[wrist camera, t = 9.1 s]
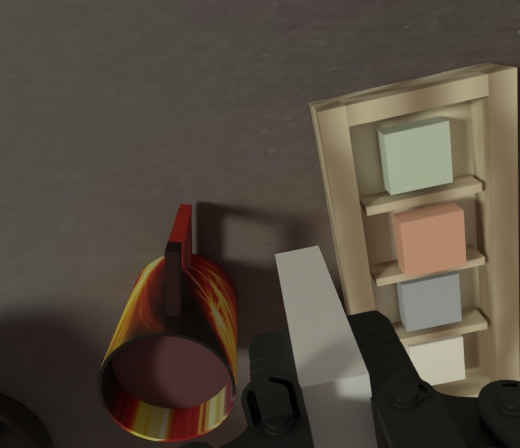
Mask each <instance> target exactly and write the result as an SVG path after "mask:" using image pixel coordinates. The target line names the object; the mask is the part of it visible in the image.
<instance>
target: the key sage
mask: <svg viewBox="0 0 520 448" xmlns="http://www.w3.org/2000/svg"><path fill="white" fill-rule="evenodd" d="M377 133H378V141H379V149H380V157H381V165H382V174H383V182H384V188H385V189H386V190H387V191H388V192H389V193H390V194H391V195H395V194H400V193H404V192H409V191H414V190H418V189H423V188H428V187H432V186H437V185H442V184H446V183H451V182H453V173H452V158H451V142H450V126H449V120H446V119H444V118H442V117H440V116H436V117H432V118H427V119H423V120H418V121H414V122H409V123H405V124H400V125H396V126H391V127H387V128H382V129H377Z"/></svg>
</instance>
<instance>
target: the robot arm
mask: <svg viewBox="0 0 520 448" xmlns="http://www.w3.org/2000/svg"><path fill="white" fill-rule="evenodd" d="M275 257H276V263H277V268H278V274H279V279H280V284H281V290H282V295H283V300H284V306H285V311H286V317H287V322H288V327H289V329H285V330H280V331H275V332H270V333H265V334H260V335H255V337H254V339H253V341H252V343H251V345H250V347H249V357H250V373H251V374H250V377H251V382H249V383H248V385H247V386H246V387H245V389H244V390H243V392H242V396H241V402H242V406H243V410H244V413H245V417H246V420H247V424H248V427H247V428H246V430H245V431H244V432H243V433H242V434H241V435H240V436H239V437H238V438H236V439H235V440H233V441H231V442H230V443H228V444H226V445H224V446H222V447H220V448H520V381H516V380H498V381H494V382H490V383H488V384H487V385H485V386H484V387H482V389H481V391H480V393H479V395H478V397H461V396H452V395H447V394H444V393H440V392H438V391H436V390H435V389H434V388H433V387H432V386H431V385H430V384H429V383H428V382H426V381H424V380H422V379H421V378H420V376H419V374H418V372H417V370H416V368H415V367H414V365H413V363H412V361H411V359H410V357H409V355H408V354H407V352H406V350H405V348H404V346H403V344H402V342H400V339H399V337H398V335H397V333H396V332H395V329H394V328H393V326H392V324H391V322H390V320H389V318H387V317H386V316H384V315H383V314H381V313H380V312H379V311H377V310H372V311H367V312H363V313H358V314H353V315H348V316H346V315H345V312H344V310H343V307H342V305H341V302H340V300H339V297H338V294H337V292H336V289H335V287H334V284H333V282H332V279H331V277H330V274H329V272H328V269H327V267H326V264H325V261H324V259H323V256H322V254H321V251H320V249H319V246H313V247H308V248H304V249H299V250H294V251H289V252H284V253H279V254H275ZM0 448H52V444H51V440H50V438H49V435H48V433H47V431H46V429H45V428H44V426H43V425H42V423H41V422H40V421H39V420H38V419H37V418H36V417H35V416H34V415H33V414H32V413H31V412H30V411H29V410H27V409H26V408H25V407H23V406H22V405H20V404H19V403H17V402H15V401H13V400H11V399H9V398H7V397H4V396H2V395H0ZM178 448H213V447H212V446H211V445H209V444H208V443H203V442H192V443H186V444H184V445H182V446H180V447H178Z"/></svg>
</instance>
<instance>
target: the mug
mask: <svg viewBox="0 0 520 448" xmlns="http://www.w3.org/2000/svg"><path fill="white" fill-rule="evenodd" d="M191 215H192V205H186V204H180V207H179V210H178V213H177V216H176V219H175V223H174V226H173V229H172V232H171V235H170V238H169V241H168V244H167V247H166V250H165V256H163V257H161V258H159V259H157V260H155V261H153V262H152V263H151V264H149V265H148V266H147V267H145V269H144V270H143V271H142V272H141V274H140V275H139V277H138V279H137V281H136V283H135V285H134V288H133V290H132V292H131V295H130V297H129V300H128V302H127V305H126V307H125V310H124V312H123V314H122V317H121V319H120V322H119V324H118V327H117V329H116V332H115V334H114V336H113V339H112V341H111V344H110V346H109V349H108V351H107V354H106V356H105V358H104V361H103V363H102V366H101V368H100V371H99V375H98V380H97V392H98V396H99V399H100V403H101V404H102V406H103V408H104V410H105V412H106V413H107V414H108V415H109V417H110V418H111V419H112V420H113V421H114V422H115V423H116V424H118V425H119V426H120V427H121V428H123V429H124V430H126V431H128V432H130V433H132V434H134V435H136V436H139V437H142V438H144V439H148V440H153V441H158V442H179V441H186V440H190V439H194V438H198V437H200V436H202V435H204V434H207V433H209V432H210V431H212V430H213V429H215V428H216V427H218V426H219V425H220V424H221V423H222V422H223V421H224V420H225V419H226V417H227V416H228V414H229V413H230V411H231V410H232V407H233V404H234V401H235V397H236V376H237V308H238V298H237V290H236V287H235V285H234V282H233V280H232V279H231V277H230V276H229V274H228V273H227V272H226V271H225V270H224V269H223V268H222V267H221V266H220V265H219V264H217V263H216V262H214V261H213V260H210V259H208V258H206V257H204V256H200V255H196V254H192V226H191Z"/></svg>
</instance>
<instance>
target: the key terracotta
mask: <svg viewBox="0 0 520 448" xmlns="http://www.w3.org/2000/svg"><path fill="white" fill-rule="evenodd" d="M393 223H394V231H395V240H396V248H397V256H398V265H399V268H400V269H401V271H402V272H403V274H404V275H405V277H406V278H409V277H413V276H418V275H423V274H428V273H433V272H438V271H443V270H448V269H452V268H457V267H462V266H467V262H466V244H465V226H464V210H463V209H462V208H461V207H459V206H458V205H457V204H456V203H455V202H453V201H451V202H446V203H441V204H436V205H432V206H427V207H422V208H418V209H413V210H408V211H403V212H399V213H394V214H393Z"/></svg>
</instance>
